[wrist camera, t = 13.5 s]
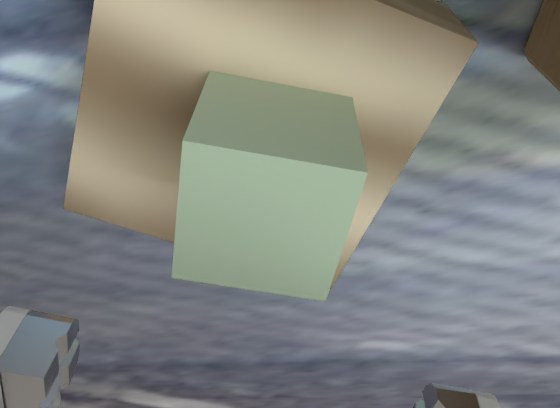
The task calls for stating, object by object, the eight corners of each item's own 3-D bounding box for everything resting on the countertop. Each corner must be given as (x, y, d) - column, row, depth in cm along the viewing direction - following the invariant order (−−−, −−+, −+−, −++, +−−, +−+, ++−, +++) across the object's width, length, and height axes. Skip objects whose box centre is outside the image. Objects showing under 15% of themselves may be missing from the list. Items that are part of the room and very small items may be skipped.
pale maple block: (326, 222, 27) (330, 289, 23) (102, 149, 25) (63, 208, 21) (444, 2, 21) (478, 42, 17) (153, -120, 19) (110, -108, 15)
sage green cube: (320, 211, 21) (325, 301, 17) (197, 190, 20) (171, 277, 16) (352, 97, 18) (368, 172, 14) (209, 71, 18) (182, 140, 13)
